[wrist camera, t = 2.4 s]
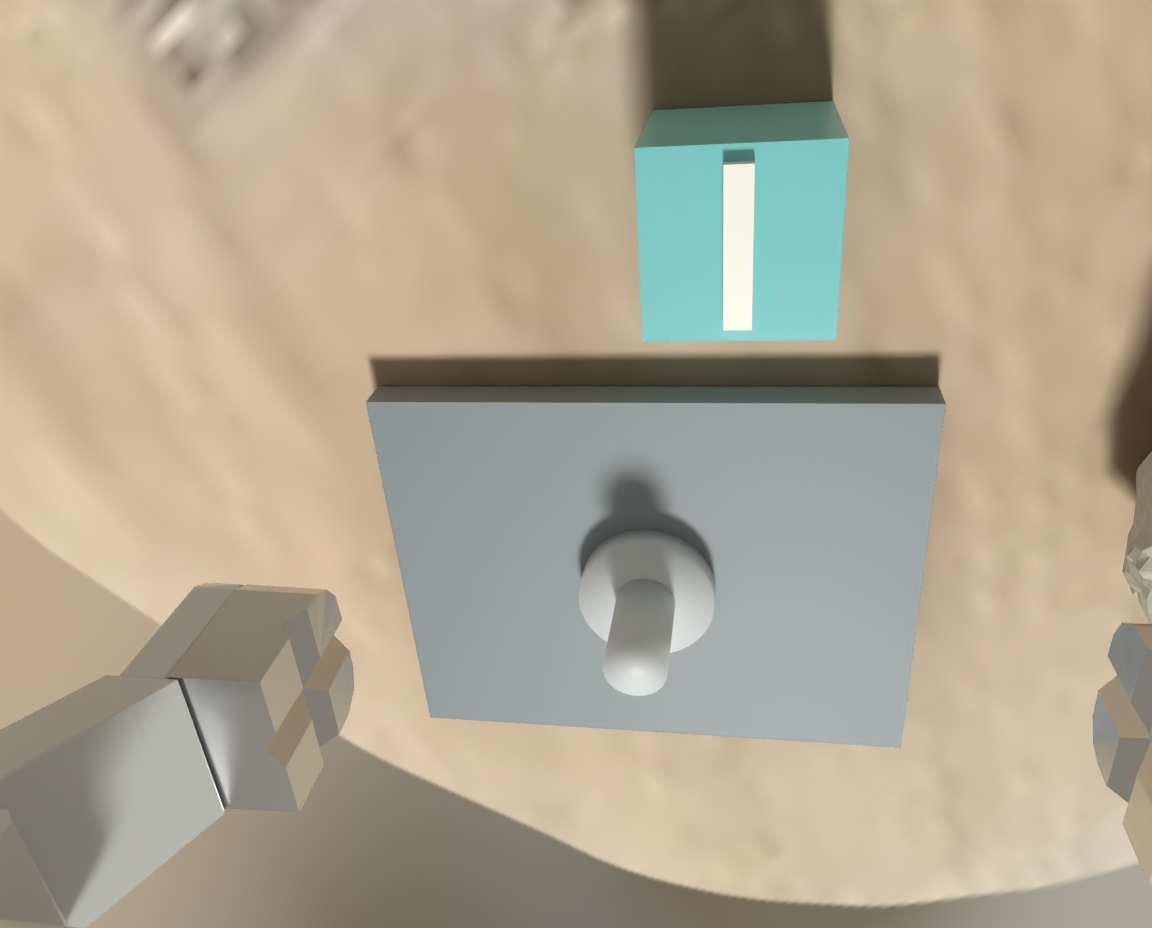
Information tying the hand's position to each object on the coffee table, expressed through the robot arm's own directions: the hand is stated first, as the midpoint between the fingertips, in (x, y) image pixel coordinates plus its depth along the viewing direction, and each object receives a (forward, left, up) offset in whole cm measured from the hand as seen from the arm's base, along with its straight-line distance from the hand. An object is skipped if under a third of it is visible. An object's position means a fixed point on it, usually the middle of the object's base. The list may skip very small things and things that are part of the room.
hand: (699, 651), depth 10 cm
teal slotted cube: (0, 0, -20) cm, 20 cm away
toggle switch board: (+3, +13, -20) cm, 24 cm away
